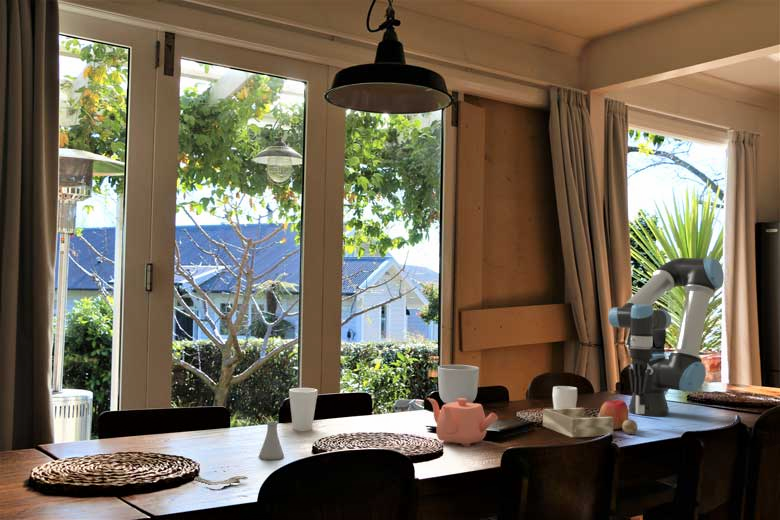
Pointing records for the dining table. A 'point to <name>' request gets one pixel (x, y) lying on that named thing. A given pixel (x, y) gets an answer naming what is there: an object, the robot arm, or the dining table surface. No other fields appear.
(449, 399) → the planter
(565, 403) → the cup
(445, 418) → the teapot
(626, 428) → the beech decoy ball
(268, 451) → the flask
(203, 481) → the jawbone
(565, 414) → the beige shallow open box
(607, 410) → the apple
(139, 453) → the dining table surface
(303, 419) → the foam cup
